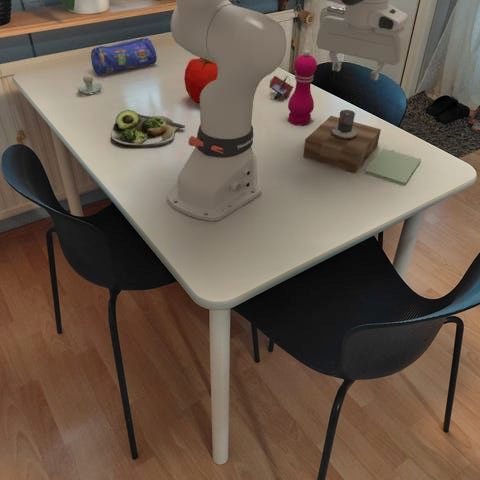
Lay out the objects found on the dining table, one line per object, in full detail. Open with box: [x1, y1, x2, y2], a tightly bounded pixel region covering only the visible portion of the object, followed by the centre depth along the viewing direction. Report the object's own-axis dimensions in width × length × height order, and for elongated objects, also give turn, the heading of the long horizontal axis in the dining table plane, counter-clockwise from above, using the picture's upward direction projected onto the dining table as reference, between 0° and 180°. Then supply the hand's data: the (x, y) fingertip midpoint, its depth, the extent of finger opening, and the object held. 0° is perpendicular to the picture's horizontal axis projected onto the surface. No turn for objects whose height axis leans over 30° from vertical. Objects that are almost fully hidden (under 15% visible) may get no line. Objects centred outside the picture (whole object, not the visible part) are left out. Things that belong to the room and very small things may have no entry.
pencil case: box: [90, 36, 158, 76], centre depth 167 cm, size 22×9×10 cm, turn 127°
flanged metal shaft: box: [331, 109, 358, 141], centre depth 127 cm, size 6×6×11 cm
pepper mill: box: [287, 49, 318, 126], centre depth 137 cm, size 7×7×20 cm
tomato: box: [183, 57, 218, 105], centre depth 147 cm, size 13×13×13 cm
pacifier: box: [76, 73, 103, 95], centre depth 153 cm, size 7×6×6 cm
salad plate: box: [110, 109, 186, 148], centre depth 134 cm, size 19×18×5 cm
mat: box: [364, 148, 422, 186], centre depth 125 cm, size 13×10×1 cm
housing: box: [302, 115, 382, 174], centre depth 129 cm, size 16×14×5 cm
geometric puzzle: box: [268, 75, 295, 100], centre depth 154 cm, size 7×7×8 cm
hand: (354, 74), depth 117 cm, fingers open, 8 cm apart
